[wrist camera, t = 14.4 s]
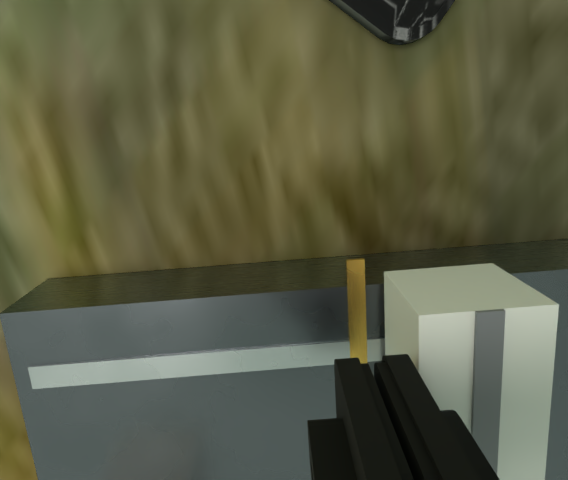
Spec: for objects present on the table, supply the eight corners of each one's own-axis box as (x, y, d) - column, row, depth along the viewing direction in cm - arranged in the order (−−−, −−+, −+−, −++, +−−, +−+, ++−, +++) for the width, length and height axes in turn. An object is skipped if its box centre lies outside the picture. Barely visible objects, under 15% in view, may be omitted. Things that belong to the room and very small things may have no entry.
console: (569, 216, 16) (639, 238, 13) (544, 516, 19) (596, 590, 16) (43, 256, 16) (-10, 288, 13) (104, 555, 19) (73, 639, 16)
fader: (492, 262, 13) (562, 306, 10) (485, 422, 14) (545, 503, 11) (383, 271, 13) (420, 317, 10) (386, 430, 14) (419, 514, 11)
